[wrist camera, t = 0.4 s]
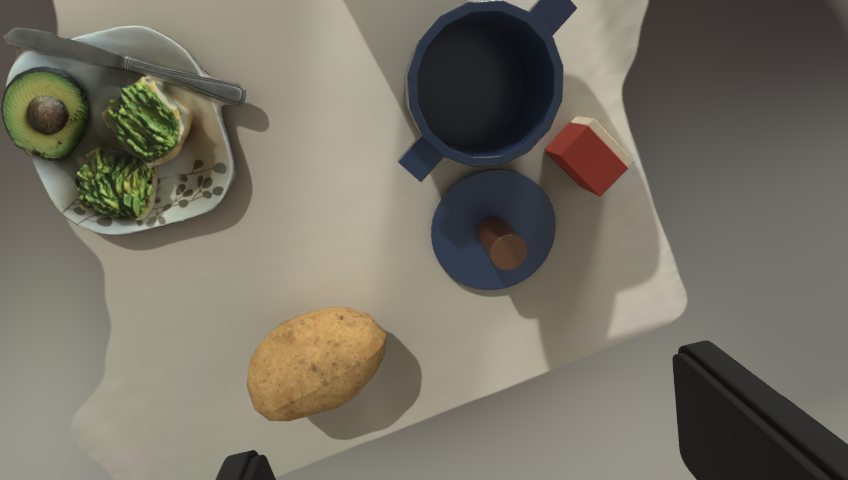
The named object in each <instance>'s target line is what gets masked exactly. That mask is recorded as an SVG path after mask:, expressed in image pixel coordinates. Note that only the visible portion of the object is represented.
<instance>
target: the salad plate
mask: <svg viewBox="0 0 848 480" xmlns="http://www.w3.org/2000/svg"><path fill="white" fill-rule="evenodd" d="M4 39H5V40H6V42H7V44H9V45H11V46H13V47H14V49H15V50H16V51H17V58H16V60H15V63H14V65H13V67H12V68H11V71H10V73H9V75H8V79H7V83H6V90H5V91H4V95H3V100H2V107H1V110H2V116H3V121H4V125H5V127H6V130H7V132H8V134H9V136H10V138H11V139H12V140H13V142H14V144H15V145H16V146H17V147H19V148H20V149H23V150H24V151H25V152H26V153H27V154H28V155H29V156H30V158H31V159H32V161H33V163H34V165H35V167H36V171H37V173H38V175H39V176H40V178H41V180H42V183H43V185H44V187H45V189H46V191H47V193H48V195H49V196H50V197H51V200H52V201H53V203H54V204H55V206H56V207H57V209H58V210H59V211H60V212H61V213H62V214H63V215H64V216H65V217H66V218H67V219H69V220H70V221H72V222H74V223H75V224H77V225H79V226H82V227H84V228H86V229H88V230H91V231H94V232H96V233H100V234H105V235H125V234H130V233H137V232H140V231H145V230H148V229H152V228H154V227H159V226H163V225H167V224H171V223H174V222H178V221H184V220H186V219H190V218H193V217H196V216H198V215H201V214H204V213H207V212H210V211H211V210H212V209H213V208H215V207H216V206H217V205H218V204H219V203H220V202H221V201H222V200H223V199H224V198H225V197H226V195H227V193H228V191H229V189H230V187H231V184H232V182H233V180H234V179H235V175H236V171H235V162H234V158H233V154H232V150H231V145H230V141H229V137H228V134H227V131H226V129H225V126H224V122H223V116H222V111H221V109H222V106H223V105H227V104H229V105H233V106H237V105H241V104H242V103H243V102H244V100H245V97H246V91H245V89H244V88H243V87H242V86H241V85H239V84H237V83H232V82H228V81H224V80H220V79H216V78H214V77H211V76H209V75H208V74H207V73H205V72H204V70H203V69H202V68H201V67H200V66H199V65H198V64H197V62H196V60H195V59H194V58H193V56H192V55H191V54H190V53H189V52H188V51H187V50H186V49H184V48H183V47H181V46H180V45H179V44H177V43H176V42H174V41H173V40H171V39H170V38H168V37H166V36H165V35H163V34H161V33H159V32H157V31H155V30H153V29H150V28H147V27H143V26H123V27H116V28H111V29H108V30H103V31H100V32H95V33H90V34H86V35H83V36H79V37H76V38H74V39H64V38H60V37H58V36H56V35H55V34H53V33H49V32H45V31H40V30H33V29H25V28H13V29H12V30H11V31H10V32H9V33H8V34H6V35H5V36H4Z"/></svg>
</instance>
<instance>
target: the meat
mask: <svg viewBox="0 0 848 480" xmlns="http://www.w3.org/2000/svg"><path fill="white" fill-rule="evenodd" d="M545 151H546V152H547V153H548V154H549V155H550V156H551V157H552V158H553V159H554V160H555V161H556V162H557V163H558V164H559V165H560V166H561V167H562V168H563V169H564V170H565V171H566V172H567V173H568V174H569V175H570V176H571V177H572V178H573V179H574V180H575V181H576V182H577V183H578V184H579V185H580V186H581V187H582V188H584V189H586V190H588V191H590V192H592V193H594V194H596V195H598V196H601V195H602V194H603V193H604V192H605V191H606V190H607V189H608V188H609V187H610V186H611V185H612V184H613V183H614V182H615V181H616V180H617V179H618V178H619V177H620V176H621V175H622V174H623V173H624V172H625V171H626V170H627V169H628V167H629V166H630V165H631V164H632V163H633V162H634V161H633V160H632V158H631V157H630V156H629V155H628V154H627V153H626V152H625V151H624V150H623V149H622V148H621V147H620V146H619V145H618V144H617V142H616V141H615V140H614V139H613V138H612V137H611V136H610V135H609V134H608V133H607V132H606V131H605V130H604V129H603V128H602V126H601V125H600V124H599V123H598V122H597V121H596V120H595V119H593V118H585V117H578V116H576V117H575V118H574V119H573V120H572V121H571V122H570V123H569V124H568V125H567V126H566V127H565V129H564V130H563V131H562V132H561V133H560V134H559V135H558V136H557V137H556V138H555V139H554V140H553V141H552V142H551V143H550V144H549V145H548V146H547V148H546V149H545Z"/></svg>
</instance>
